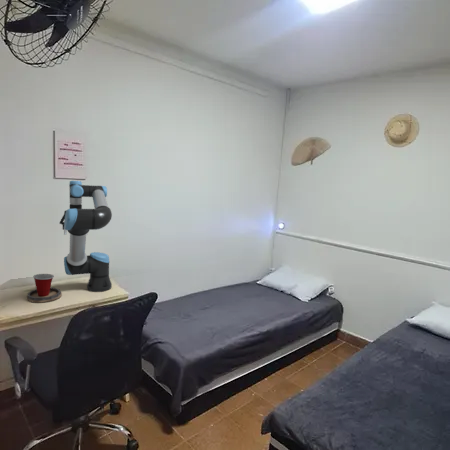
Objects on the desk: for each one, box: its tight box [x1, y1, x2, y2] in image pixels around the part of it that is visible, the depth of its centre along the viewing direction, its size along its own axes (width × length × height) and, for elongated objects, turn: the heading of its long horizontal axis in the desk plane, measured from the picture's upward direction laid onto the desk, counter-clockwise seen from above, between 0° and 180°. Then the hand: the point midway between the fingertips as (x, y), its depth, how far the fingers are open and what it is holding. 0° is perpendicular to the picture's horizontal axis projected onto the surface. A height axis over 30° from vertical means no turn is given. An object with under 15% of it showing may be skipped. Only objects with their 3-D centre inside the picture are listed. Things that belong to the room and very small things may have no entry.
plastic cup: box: [33, 273, 55, 297], centre depth 197 cm, size 11×11×12 cm
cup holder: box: [26, 287, 63, 304], centre depth 197 cm, size 18×18×3 cm
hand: (75, 234), depth 226 cm, fingers open, 13 cm apart
